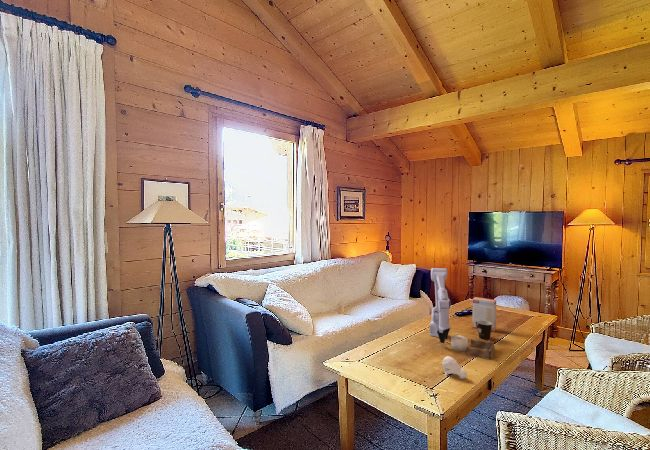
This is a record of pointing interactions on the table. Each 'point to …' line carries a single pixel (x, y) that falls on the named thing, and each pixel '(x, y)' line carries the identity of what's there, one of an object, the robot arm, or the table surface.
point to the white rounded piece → (453, 367)
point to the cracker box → (484, 311)
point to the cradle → (480, 352)
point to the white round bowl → (459, 343)
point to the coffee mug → (484, 329)
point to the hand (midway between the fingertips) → (443, 340)
